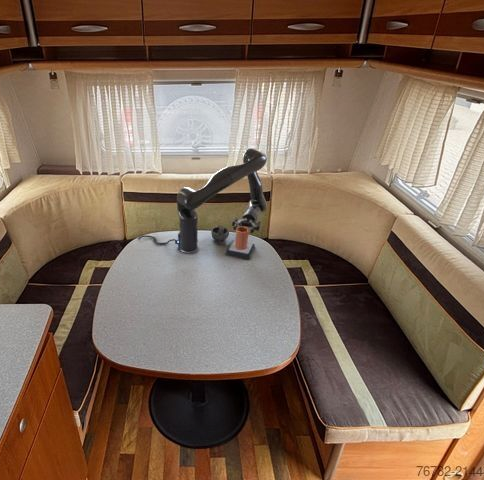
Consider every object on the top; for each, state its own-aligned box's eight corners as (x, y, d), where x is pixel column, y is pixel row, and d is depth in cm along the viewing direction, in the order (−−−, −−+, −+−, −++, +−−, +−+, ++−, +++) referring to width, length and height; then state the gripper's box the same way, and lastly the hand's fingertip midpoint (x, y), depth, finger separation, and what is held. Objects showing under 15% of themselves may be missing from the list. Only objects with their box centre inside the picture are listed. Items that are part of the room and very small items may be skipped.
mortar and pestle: (210, 237, 198) (211, 217, 192) (227, 237, 199) (228, 217, 193) (211, 247, 189) (212, 227, 183) (229, 247, 189) (230, 227, 183)
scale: (226, 254, 182) (226, 249, 181) (232, 243, 192) (232, 239, 191) (248, 259, 179) (249, 254, 177) (254, 248, 188) (255, 243, 187)
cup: (233, 248, 182) (234, 231, 177) (236, 242, 188) (238, 225, 183) (245, 250, 180) (247, 233, 175) (248, 244, 186) (250, 227, 181)
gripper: (238, 208, 194) (229, 221, 181) (264, 213, 189) (257, 226, 176) (237, 221, 198) (229, 234, 185) (262, 225, 193) (256, 239, 180)
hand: (242, 230), depth 180 cm, fingers open, 8 cm apart
